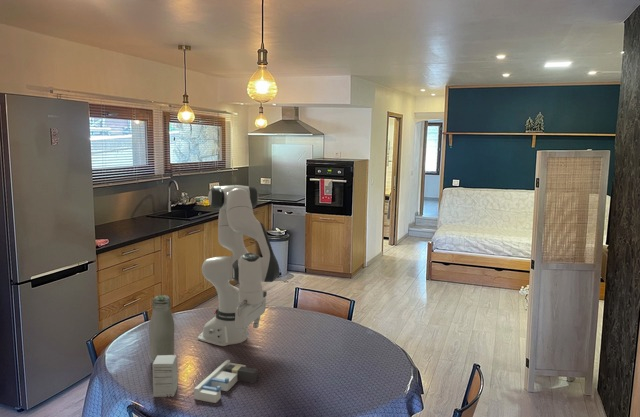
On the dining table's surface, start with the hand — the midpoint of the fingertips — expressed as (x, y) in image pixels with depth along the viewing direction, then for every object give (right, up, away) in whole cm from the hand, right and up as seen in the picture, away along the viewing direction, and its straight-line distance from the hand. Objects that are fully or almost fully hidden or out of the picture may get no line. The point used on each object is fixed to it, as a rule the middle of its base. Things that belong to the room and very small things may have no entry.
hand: (250, 331), depth 183 cm
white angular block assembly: (-10, -19, -3) cm, 22 cm away
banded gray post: (-4, -19, +3) cm, 19 cm away
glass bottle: (-39, -17, +16) cm, 45 cm away
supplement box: (-30, -20, -8) cm, 37 cm away
